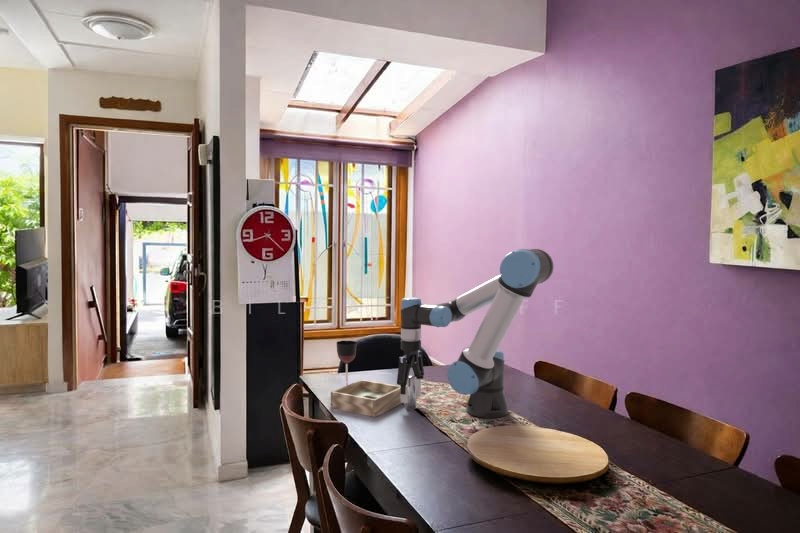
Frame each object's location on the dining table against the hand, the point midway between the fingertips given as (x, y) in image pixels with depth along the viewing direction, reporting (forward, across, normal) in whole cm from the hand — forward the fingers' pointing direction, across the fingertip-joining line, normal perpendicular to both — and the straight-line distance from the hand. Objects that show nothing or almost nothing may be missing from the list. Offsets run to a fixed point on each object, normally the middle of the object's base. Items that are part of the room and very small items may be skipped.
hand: (410, 398), depth 197 cm
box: (+3, +5, -16) cm, 17 cm away
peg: (+3, 0, 0) cm, 3 cm away
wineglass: (+4, -7, -35) cm, 36 cm away
